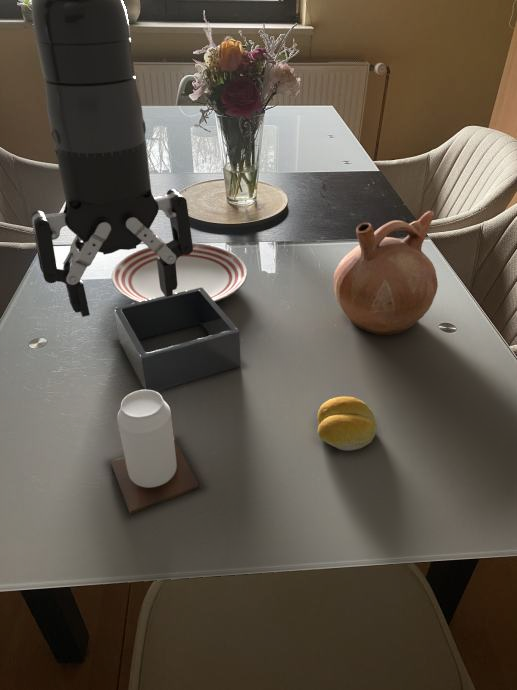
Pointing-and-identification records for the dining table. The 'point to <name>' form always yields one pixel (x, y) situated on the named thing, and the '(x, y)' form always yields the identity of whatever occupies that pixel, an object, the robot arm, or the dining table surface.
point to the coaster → (148, 497)
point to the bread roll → (346, 423)
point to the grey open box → (183, 358)
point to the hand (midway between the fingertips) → (126, 302)
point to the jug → (387, 277)
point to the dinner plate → (181, 273)
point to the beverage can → (147, 438)
